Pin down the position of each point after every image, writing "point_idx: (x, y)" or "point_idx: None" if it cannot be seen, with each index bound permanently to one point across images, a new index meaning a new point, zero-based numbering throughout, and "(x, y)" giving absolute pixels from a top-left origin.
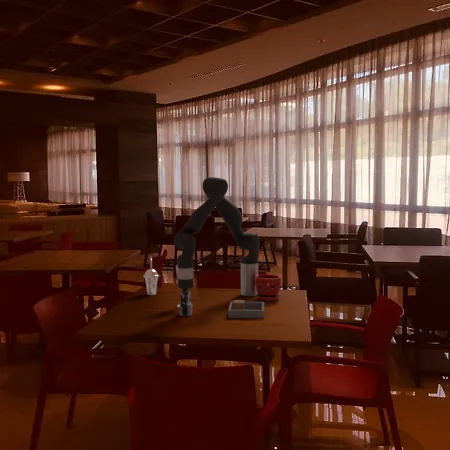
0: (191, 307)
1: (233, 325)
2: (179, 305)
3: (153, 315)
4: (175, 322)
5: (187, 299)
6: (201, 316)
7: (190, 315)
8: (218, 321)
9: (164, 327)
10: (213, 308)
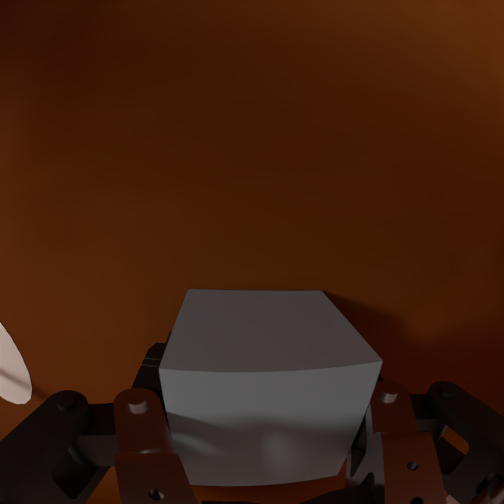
0: (232, 327)
1: (486, 7)
2: (9, 393)
3: (278, 500)
4: (463, 359)
5: (429, 467)
6: (346, 156)
7: (321, 292)
8: (459, 42)
9: (501, 375)
10: (22, 82)
